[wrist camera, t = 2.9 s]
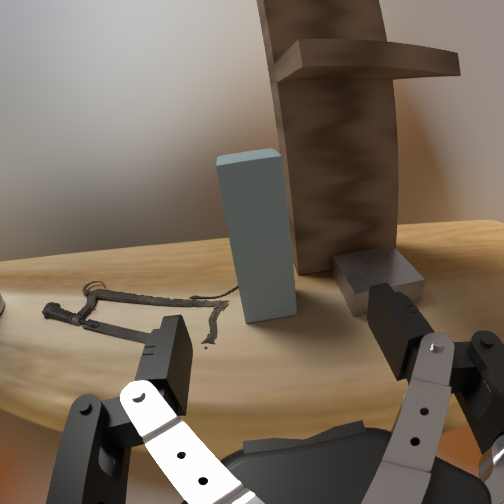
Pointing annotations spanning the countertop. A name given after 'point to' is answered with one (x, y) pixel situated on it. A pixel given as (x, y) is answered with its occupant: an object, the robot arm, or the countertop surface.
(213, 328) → the hacksaw
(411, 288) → the grey square block
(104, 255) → the countertop surface
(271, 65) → the brown tall blocky piece
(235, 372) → the countertop surface
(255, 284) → the block
